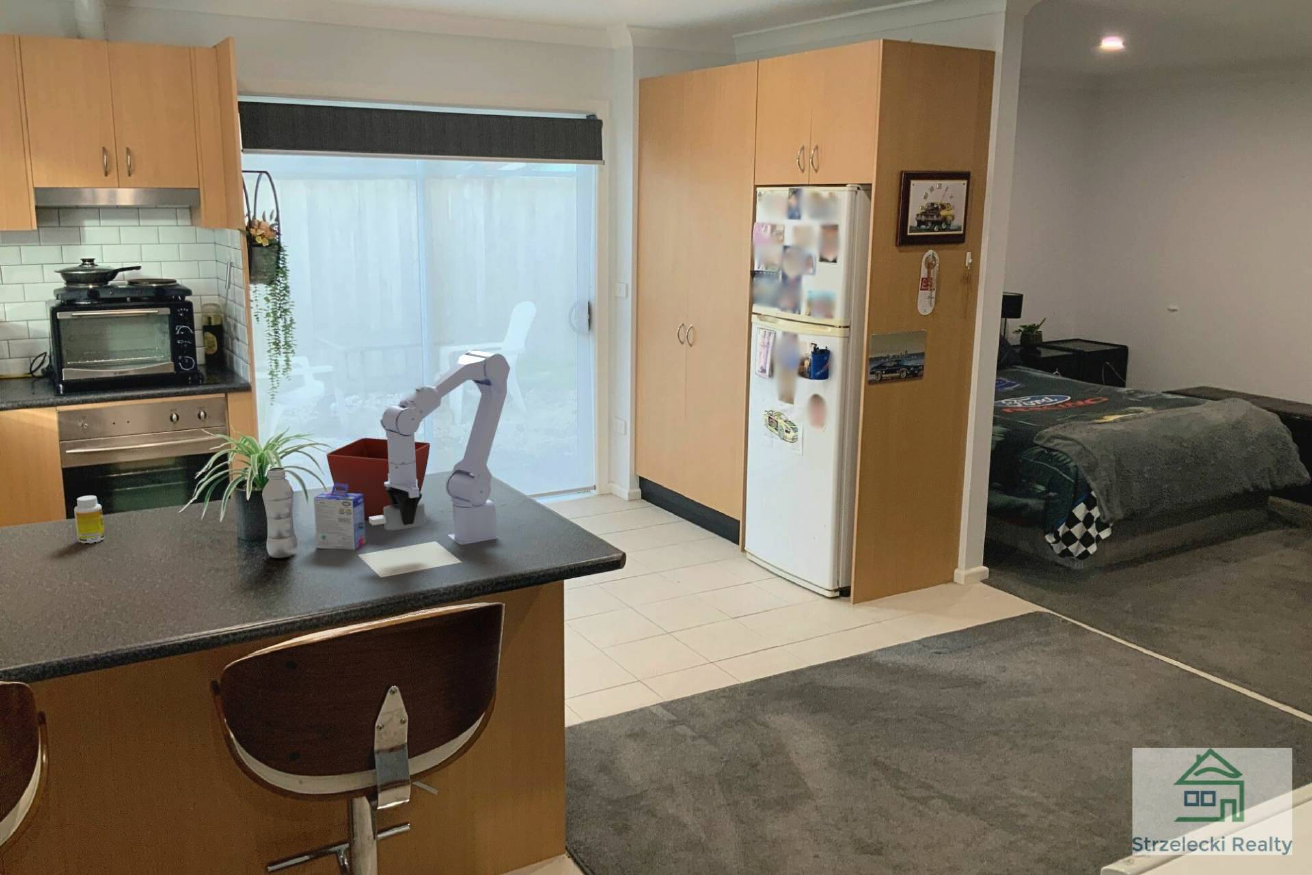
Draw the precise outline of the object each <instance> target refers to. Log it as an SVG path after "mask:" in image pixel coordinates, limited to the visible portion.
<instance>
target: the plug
mask: <svg viewBox="0 0 1312 875" xmlns="http://www.w3.org/2000/svg"><path fill="white" fill-rule="evenodd" d="M383 511H384V516H383V515H379V516H372V517H369V519H368V523H369V524H371V525H372V526H377V525H383V524H384V526H383V527H384V529H385V530H386V531H398V530H403V529H404V530H405V529H410V528H417V527H421V526H424V525H426V513H425V512H426V510H425V503H424V502H422V501H419V503H418V506H417V509H416V514H415V519H414V523H413V524H409V525H404V524H403V521H402V517H401V512H400V507H399V504H395V505H389V506H385V507H384V508H383Z"/></svg>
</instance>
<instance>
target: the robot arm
mask: <svg viewBox="0 0 1312 875" xmlns="http://www.w3.org/2000/svg"><path fill="white" fill-rule="evenodd" d="M510 370H511V366H510V364H509V363H508V361H507V359H506V357H505V356H504V355H503V354H501V353H498V352H497V353H493V352H487V351H480V350H478V349H474V348H473V349H469V350H468V351H466V352H465V353H464V354H463V355H461V356H459V358H458V360H457V362H456V363H455V364H454V365H453V366H452V367H451V368H449V369H448V371H446V372H445V373H444V374H443V375H442V376H441V377H439V379H437V380H436V381H435V382H433V384H431V385H427V384H426V385H422V386H421V385H418V386H417V387H416V388H415V391H414V392H413V393H411V394H410V395H409V396H407V397H406V398H404V399H401V400H400V401H399V403H398V405H391V406H389V407H387V408H386V409H385V411H384V412H383V413H382V419H380V422H379V423H380V425H381V427H382V429H383V430H384V432H385V437H386V439H387V443H388V462H389V474H388V482H384V486H386V487H387V488H385V490H386V492H387V493H388V495H389V497H390V499H391V502H392V505H395V504H399V507H400V512H401V517H402V521H403V524H404V525H409V524H413V523H414V519H415V514H416V509H417V506H418V503H419V502H421V499H422V497H423V493H421V492H419V488H418V487H417V479H416V460H415V442H416V440H415V433H417V432H418V429H419V427H420V424H421V423H422V422H423V420H424V419H425V418H426V417H428V416H429V415H430V414H431V413H433V412H434V411H436V410H437V409H438V408H439V407H440V406H441V405H442V404H441V403H442V398H444V396H447V395H448V394H449V393H451V392H452V391H454V390H455V389H457V388H458V387H460V386H461V385H462V384H464V383H465V382H467V381H472V382H473V383H474V384H475V385H476V386H477V388H478V390H479V392H480V394H481V396H480V398H479V402H478V406H477V410H476V413H475V416H474V420H473V424H472V426H471V430H470V434H469V437H468V441H467V445H466V447H465V451H464V455H463V459H461V460H459V461H458V462H457V463H456V464H454V466H453V468H452V471H451V473H450V475H449V476H448V477H447V479H446V480H445V481H446V482H445V491H446V493H447V495H448V496H449V497H450V498H451V499H450V500H451V502H452V512H453V514H452V515H453V517H452V518H453V533H452V534H448V535H447V536H448V537H449V538H450V539H452V540H453V541H454V542H456V543H457V544H459V545H467V544H471V543H478V542H479V543H480V542H484V541H490V540H495V539H496V540H497V539H499V537H498V536H497V535H498V534H497V533H498V532H497V510H496V506H495V503H494V502H493V501H492V500H491V499H490V496H491V492H492V485H491V484H492V483H491V482H492V479H493V474H492V473H491V471H490V469H489V468H488V466H487V464H488V461H489V457H490V455H491V454H490V453H491V450H492V447H493V444H494V440H495V436H496V432H497V430H498V425H499V422H500V419H501V415H502V411H503V408H504V404H505V402H506V398H507V395H508V394H507V393H508V381H507V380H508V377H509V374H510Z"/></svg>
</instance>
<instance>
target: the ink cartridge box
mask: <svg viewBox="0 0 1312 875" xmlns="http://www.w3.org/2000/svg"><path fill="white" fill-rule="evenodd" d="M336 487H343V488H345V490H344V491H343V490H336V489H335V488H336ZM347 491H348V484H339V483H333V486H332V491H331V492H329V491H328V492H327V491H324V492H322V493H320V494H318V495H316V496H315V497H313V504H314V506H313V507H314V525H315V527H314V528H315V541H316V542H315V543H316V544H315V546H316V548H317V549H322V550H323V549H324V550H333V549H343V550H357V549H358V548H360V547H361V546H363V545H365V544H366V542H367V541H366V527H365V526H366V524H365V520H366V519H364V501H363V494H353V493H347Z"/></svg>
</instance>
